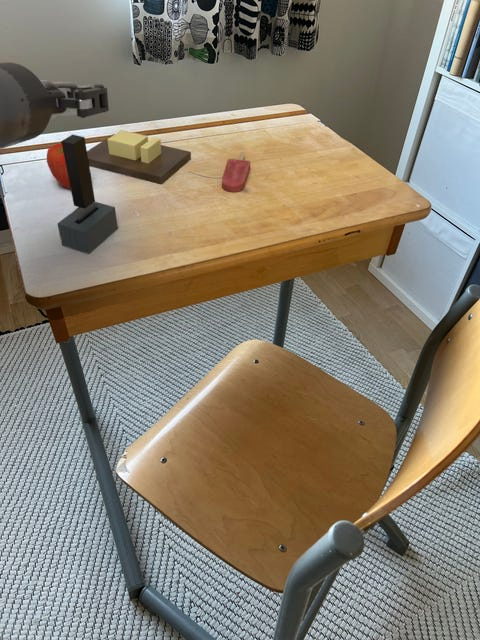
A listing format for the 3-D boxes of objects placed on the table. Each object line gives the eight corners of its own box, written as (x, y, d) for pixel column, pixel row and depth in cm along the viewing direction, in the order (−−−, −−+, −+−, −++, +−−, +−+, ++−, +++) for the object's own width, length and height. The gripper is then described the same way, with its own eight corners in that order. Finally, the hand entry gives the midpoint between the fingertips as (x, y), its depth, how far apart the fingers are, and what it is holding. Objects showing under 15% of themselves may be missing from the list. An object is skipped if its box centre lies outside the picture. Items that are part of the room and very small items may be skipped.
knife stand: (62, 245, 79) (56, 223, 77) (92, 221, 85) (88, 199, 82) (89, 254, 78) (84, 231, 75) (118, 228, 84) (115, 206, 81)
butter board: (80, 163, 100) (78, 156, 99) (114, 140, 108) (113, 133, 107) (161, 184, 95) (161, 177, 94) (191, 158, 103) (190, 151, 102)
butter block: (109, 154, 100) (107, 139, 98) (123, 144, 103) (121, 129, 101) (135, 160, 98) (134, 145, 96) (149, 150, 102) (147, 135, 100)
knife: (77, 241, 80) (57, 143, 69) (92, 229, 83) (75, 132, 72) (88, 244, 80) (70, 146, 69) (103, 232, 83) (87, 135, 72)
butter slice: (141, 162, 98) (139, 146, 96) (154, 151, 101) (153, 137, 99) (148, 163, 98) (147, 148, 95) (161, 153, 101) (160, 138, 99)
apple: (48, 192, 91) (39, 152, 86) (60, 176, 95) (51, 137, 90) (83, 195, 91) (76, 155, 86) (93, 179, 95) (86, 140, 90)
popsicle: (253, 149, 103) (243, 185, 93) (253, 157, 105) (243, 194, 94) (231, 147, 104) (219, 183, 93) (231, 155, 105) (219, 191, 94)
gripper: (55, 68, 47) (121, 61, 61) (-84, 60, 49) (11, 55, 63) (65, 152, 51) (126, 127, 65) (-64, 141, 53) (21, 119, 67)
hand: (69, 91), depth 64 cm, fingers open, 8 cm apart
